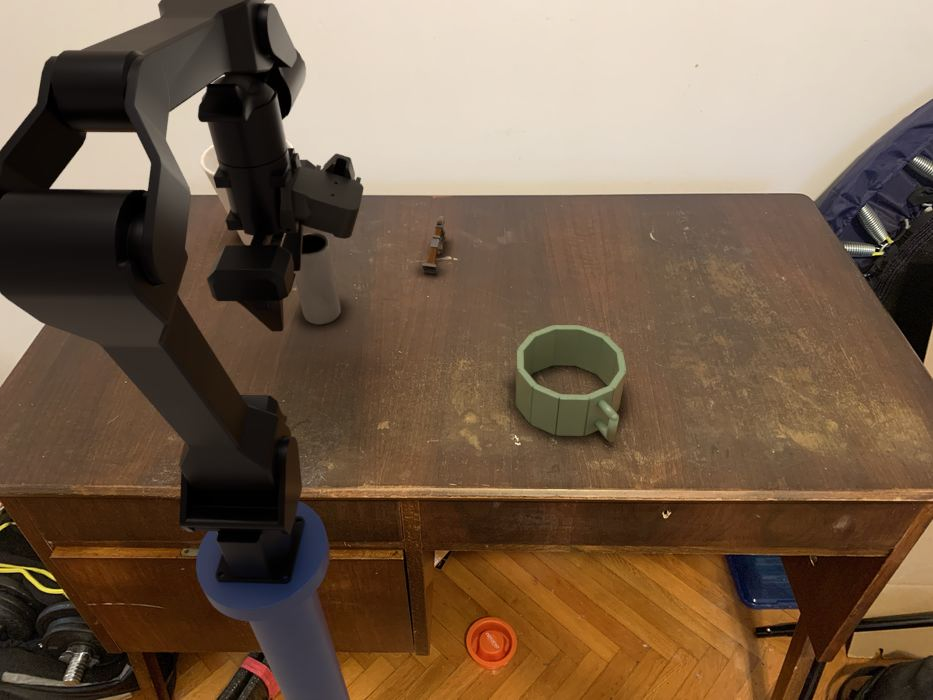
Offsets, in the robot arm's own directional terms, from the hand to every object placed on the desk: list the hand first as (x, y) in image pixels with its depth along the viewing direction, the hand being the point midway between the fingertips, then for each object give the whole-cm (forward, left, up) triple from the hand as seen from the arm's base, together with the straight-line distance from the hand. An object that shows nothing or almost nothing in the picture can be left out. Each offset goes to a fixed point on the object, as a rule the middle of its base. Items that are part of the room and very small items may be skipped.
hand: (286, 298), depth 70 cm
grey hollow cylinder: (+13, +1, -13) cm, 19 cm away
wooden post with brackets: (+25, -12, -13) cm, 31 cm away
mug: (-1, -29, -13) cm, 32 cm away
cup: (+30, +12, -13) cm, 35 cm away
